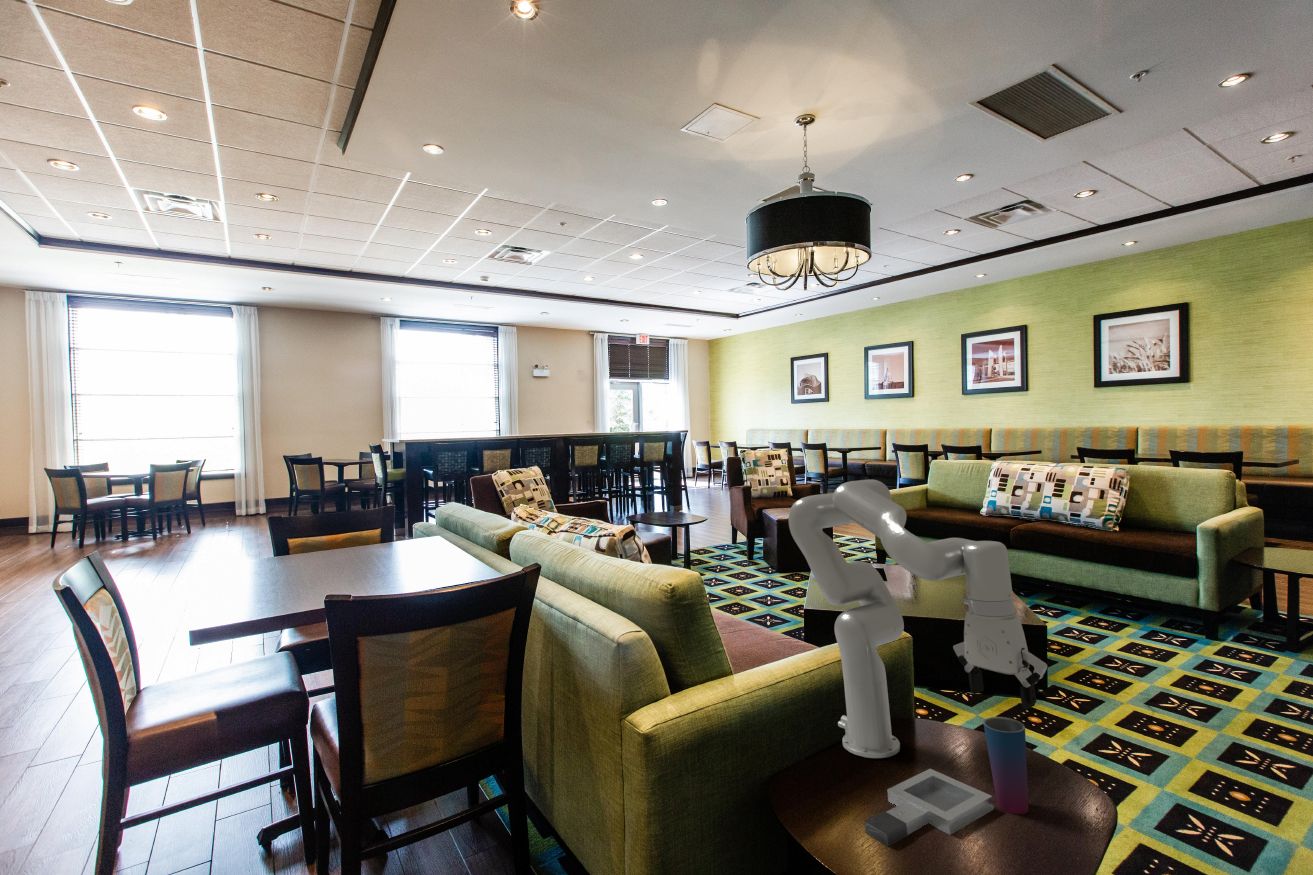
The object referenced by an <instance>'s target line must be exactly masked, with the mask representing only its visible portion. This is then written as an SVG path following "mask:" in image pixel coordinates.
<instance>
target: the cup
mask: <svg viewBox="0 0 1313 875" xmlns="http://www.w3.org/2000/svg"><path fill="white" fill-rule="evenodd" d="M982 721H983V727H984V728H983V729H984V734H985V735H984V736H985V739H986V740H985V742H986V744H987V745H986V747H987V751H988V758H989V763H990V770H991V776H992V781H993V787H994V792H995V797H996V798H995V800H996V804H997V807H998V808H999V809H1000V810H1002V811H1004V812H1006V813H1008V814H1013V815H1024V814H1027V813H1028V812H1029V792H1028V791H1029V788H1028V787H1029V786H1028V768H1027V767H1028V766H1027V763H1028V762H1027V744H1026V743H1027V740H1026V726H1025V724H1024V723H1023V722H1020V721H1019V720H1016V719H1014V718H1010V717H1004V716H991V717H987V718H985V719H984V720H982Z"/></svg>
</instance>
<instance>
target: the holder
mask: <svg viewBox="0 0 1313 875" xmlns="http://www.w3.org/2000/svg"><path fill="white" fill-rule="evenodd" d="M887 800H888V803H889V802H890V803H889V804H891V803H892V804H891V805H893V804H895V805H896V806H895V805H894V807H892V808H891V809H889V810H886V811H885V810H882V811H881V812H879V813H877V814H875V815H873V816H871V817H869V818H867V819H865V820H864V823H865V825H864V827H865V833H866V835H868V836H870V837H872V838H873V839H874V840H877V841H878V842H879V843H881V844H883V845H884V846H886V847H891V846H893V845H895V843H896V844H897V842H898V843H899V841H902V840H903V839H904V838H907V837H908V836H909V835H910V834H912V833H914V832H915V831H917V830H919V829H921V828H922V826H923V827H925V826H926V825H928V823H929V825H930V824H931V826H933V827H934V828H936V829H938V830H940V831H941V832H944V833H945V834H948V835H949V836H951V835H953V834H954V833H957V832H958V831H959V830H961V829H964V828H965V827H966V825H967V826H968V825H970V824H972V823H973V822H975V821H977V820H978V819H981V818H982V817H983V816H985V815H987V814H989V813H990V812H992V811H994V810H995V808H994V799H993V795H991V794H988V793H986V792H984V791H982V790H980V789H978V788H975V787H973V786H971V785H968V784H966V783H964V782H961V781H959V780H956V779H955V778H952V777H950V776H948V775H947V774H946V775H945V774H944V773H941V772H939V771H936V770H934V769H932V768H929V769H926V770H924V771H923V772H921V773H918V774H916V775H914V776H912V777H910V778H907V779H906V780H904V781H902V782H900V783H898V784H896V785H893V786H892V787H889V788H887ZM924 825H925V826H924Z"/></svg>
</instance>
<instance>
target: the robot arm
mask: <svg viewBox="0 0 1313 875" xmlns="http://www.w3.org/2000/svg"><path fill="white" fill-rule="evenodd" d="M788 513H789V514H788V527H789V528H788V529H789V531H790V534H791V536H792V538H793V540H794V542H795V543H796V545H797V547H798V548H799V550H800V551H801V553H802V555H803V556H804V558H805V560H806V562H807V564H808V566H809V568H810V570H811V573H812V575H813V577H814V578H815V581H816V582H817V585H818V587H819V589H820V591H821V593H822V595H823V597H824V598H825V600H826V601H827V602H828V603H829V604H830V605H833V606H837V607H839V606H846V605H850V604H853V603H854V604H855V603H859V606H856V607H852V608H849V609H847V610H845V611H843V612H842V613H840V614H839V615H838V616H837V618H836V620H835V622H834V635H835V640H836V643H837V646H838V649H839V653H840V660H841V667H842V677H843V678H842V679H843V685H844V686H843V687H844V698H845V708H846V709H845V710H846V715H845V714H843V715H842V716H841V717H840V720H839V721H838V722H837V726H838V727H839V728H842V729H844V731H845V734H844V735H843V737H842V746H843V749H845V750H846V751H848V752H849V753H851V754H853V755H856V756H859V757H861V758H862V757H863V758H868V759H884V758H885V759H886V758H889V757H890V758H891V757H892V756H895V755H897V754H898V753H899V752H900V749H901V743H900V741H899V739H898V738H897V737H896V736H894V735H892V725H891V724H892V723H891V715H890V714H891V713H890V703H889V693H888V684H887V683H888V682H887V675H886V667H885V664H884V661H883V659H882V658H881V656H880V654H879V652H878V649H877V648H878V647H881V646H883V645H886V644H889V643H892V642H894V641H896V640H898V639H899V638H900V637H901V636H902V635H903V632H904V628H905V625H904V618H903V614H902V613H901V611H900V608H899V607H898V604H897V603H896V601H895V600H894V599H895V598H893V596H892V594H891V591H890V590H889V588H888V587H887V585H886V582H885V581H884V579H883V577H882V575H881V574H880V573H879V571H878V570H877V569H876V568H875V567H874V566H873V565H872V564H870V563H869V562H866V561H862V560H861V561H860V560H855V561H850V562H847V560H846V558H845V557H844V555H843V553H842V552H841V550H840V547H839V546H838V544H837V542H835V541H834V540H833V539H832V537H830V536H829V535H828V534H826V533H825V532H824V531H823V529H826V528H832V527H840V526H846V525H849V524H853V523H855V524H857V525H858V526H859V527H860V526H861V528H863V529H865V530H866V531H868V532H870V533H871V534H872V535H874V536H876V537H877V538H878V539H880V542H881V545H882V547H883V549H884V551H885V552H886V554H887V555H888V556H889V558H890V559H891V560H892V561H894V562H895V563H896V564H897V565H899V566H900V567H901V568H903V569H904V570H906V571H908V572H909V573H910V574H912V575H914V576H916V577H917V578H920V579H922V580H926V581H929V582H939V581H942V580H946V579H949V578H955V577H958V576H959V577H960V576H964V575H965V582H966V590H967V597H963V604H964V605H968V610H969V611H967V612H966V613H965V617H964V627H963V641H962V642H959V643H957V644H954V645H953V646H952V648H953V651H954V653H955V654H956V656H957V659H958V661H959V663H960V664H961V665H962V666H963V667H964V671H965V672H966V673H967V675H968V683H969V687H970V693H971V694H972V695H977V694H979V693H982V692H984V690H985V687H984V686H985V685H984V678H983V677H984V676H983V672H982V670H981V669H984V670H987V671H990V672H996V673H1000V674H1004V675H1009V676H1010V675H1012V676H1015V677H1016V678H1017V679H1018V681H1019V682H1020V684H1021V685H1020V686H1019V694H1020V702H1021V707H1022V709H1023V710H1028V709H1031V708H1033V707H1035V706H1036V704H1037V697H1036V696H1037V694H1036V687H1035V685H1036V684H1037V683H1038V682H1040V680H1042V679H1043V678H1044V675H1045V673H1046V671H1047V669H1048V664H1047V663H1046V662H1044V661H1043V660H1041V658H1038V657H1037V656H1036V655H1034V654H1033V653H1031V652H1030V651H1029V649H1028V645H1027V640H1026V636H1025V632H1024V629H1023V625H1022V622H1021V620H1020V617H1019V616H1018V615H1016V613H1015V612H1016V611H1015V603H1014V597H1013V587H1012V578H1011V570H1010V562H1009V561H1010V560H1009V555H1008V549H1007V546H1006V545H1005V544H1004V543H1002V542H1000V541H995V540H994V541H993V540H971V539H968V538H967V539H966V538H962V537H948V538H943V539H938V540H933V541H926V540H923V539H921V537H918V536H916V535H915V534H913V533H911V532H910V531H909V530H907V529H906V528H905V525H906V522H907V512H906V510H905V508H904V507H902V506H901V505H900V504H898V503H896V502H894V501H893V500H892V494H891V491H890V489H889V488H888V487H887V485H886V484H885V483H883V482H881V481H879V480H877V479H873V478H872V479H860V480H850V481H847V482H844V483H841V484H840V485H839V486H837V488H835V490H834V492H833V493H831V492H830V493H822V494H814V495H813V494H812V495H808V496H805V497H802V498H800V499H798V500H796V501H795V502H794V503H793V504H792V506H791V508H790V509H789V512H788ZM1030 665H1031V666H1033V668H1034V670H1033V672H1032V671H1030ZM979 668H980V669H979Z"/></svg>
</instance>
